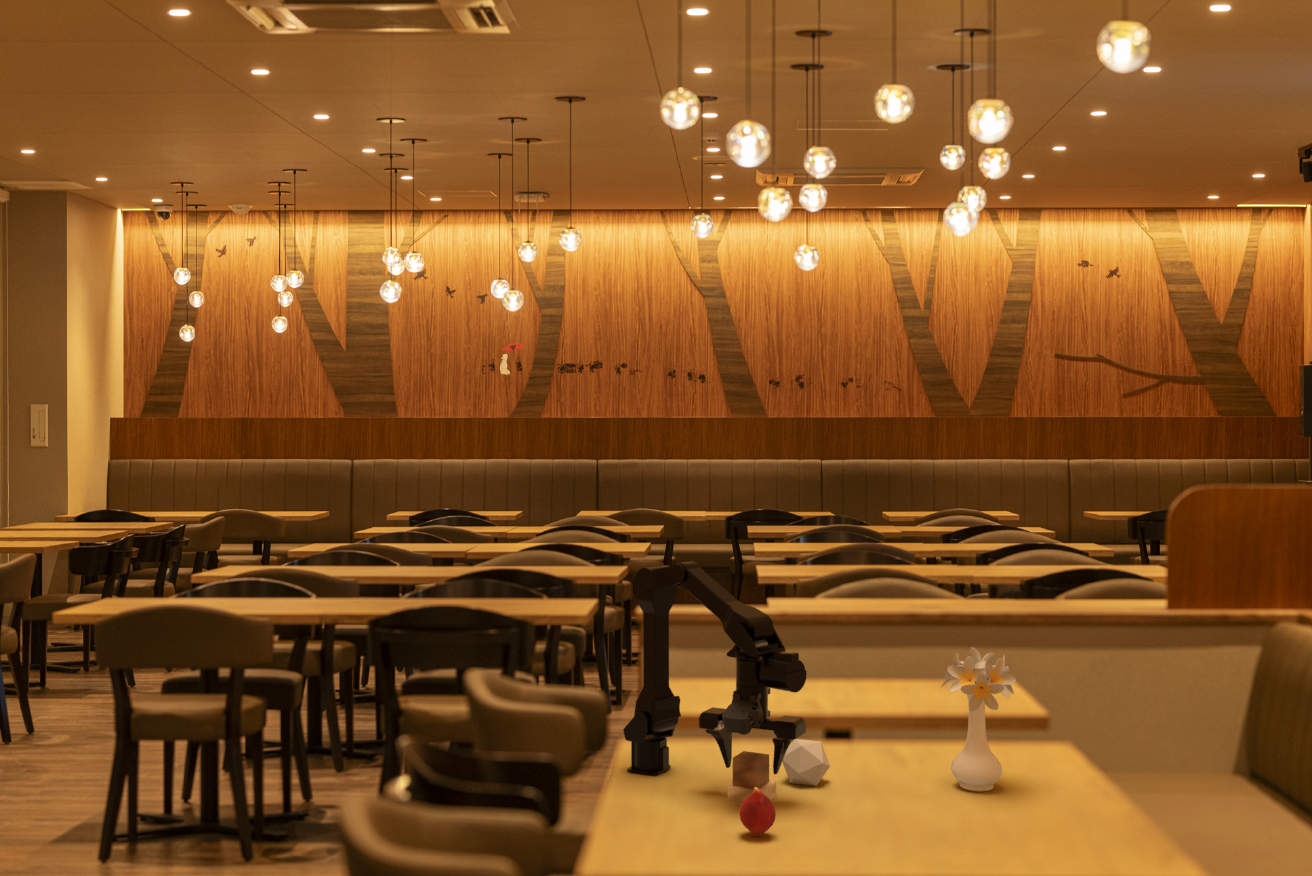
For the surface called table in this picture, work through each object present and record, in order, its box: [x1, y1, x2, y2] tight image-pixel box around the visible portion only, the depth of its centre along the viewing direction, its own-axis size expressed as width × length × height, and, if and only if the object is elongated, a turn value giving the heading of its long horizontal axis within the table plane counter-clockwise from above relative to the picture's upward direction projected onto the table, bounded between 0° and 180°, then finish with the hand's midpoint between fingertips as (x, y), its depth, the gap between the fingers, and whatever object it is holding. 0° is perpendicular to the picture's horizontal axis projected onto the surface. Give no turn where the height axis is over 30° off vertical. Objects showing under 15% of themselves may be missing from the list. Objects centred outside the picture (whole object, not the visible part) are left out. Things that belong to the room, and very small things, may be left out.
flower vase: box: [940, 646, 1017, 793], centre depth 238 cm, size 13×18×25 cm
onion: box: [738, 787, 777, 838], centre depth 211 cm, size 6×6×8 cm
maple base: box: [727, 779, 777, 805], centre depth 232 cm, size 7×7×3 cm
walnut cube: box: [732, 750, 770, 789], centre depth 232 cm, size 5×5×5 cm
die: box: [782, 738, 831, 787], centre depth 242 cm, size 8×9×10 cm
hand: (751, 770), depth 232 cm, fingers open, 9 cm apart
